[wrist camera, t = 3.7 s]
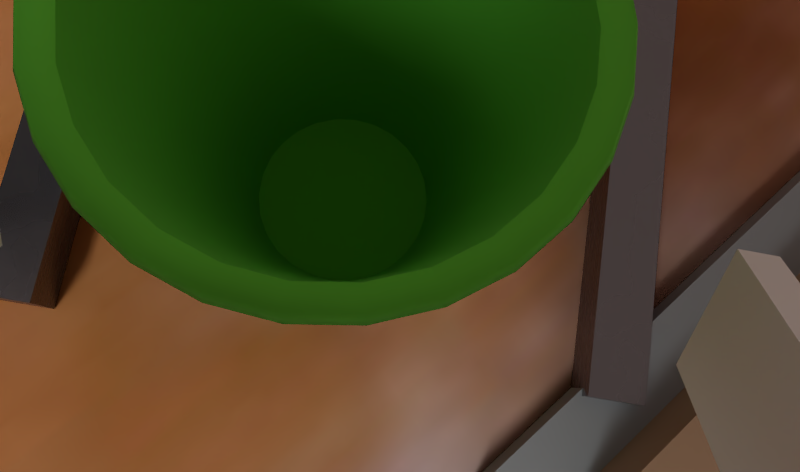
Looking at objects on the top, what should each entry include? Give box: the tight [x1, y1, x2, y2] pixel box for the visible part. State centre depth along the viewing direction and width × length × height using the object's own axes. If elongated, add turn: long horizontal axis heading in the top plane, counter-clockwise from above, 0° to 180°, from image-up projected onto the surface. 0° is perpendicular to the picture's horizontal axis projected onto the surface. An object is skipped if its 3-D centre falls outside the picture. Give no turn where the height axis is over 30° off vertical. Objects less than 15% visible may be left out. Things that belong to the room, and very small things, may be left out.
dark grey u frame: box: [0, 0, 677, 406], centre depth 20 cm, size 14×18×2 cm
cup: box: [13, 0, 638, 325], centre depth 15 cm, size 9×9×11 cm
